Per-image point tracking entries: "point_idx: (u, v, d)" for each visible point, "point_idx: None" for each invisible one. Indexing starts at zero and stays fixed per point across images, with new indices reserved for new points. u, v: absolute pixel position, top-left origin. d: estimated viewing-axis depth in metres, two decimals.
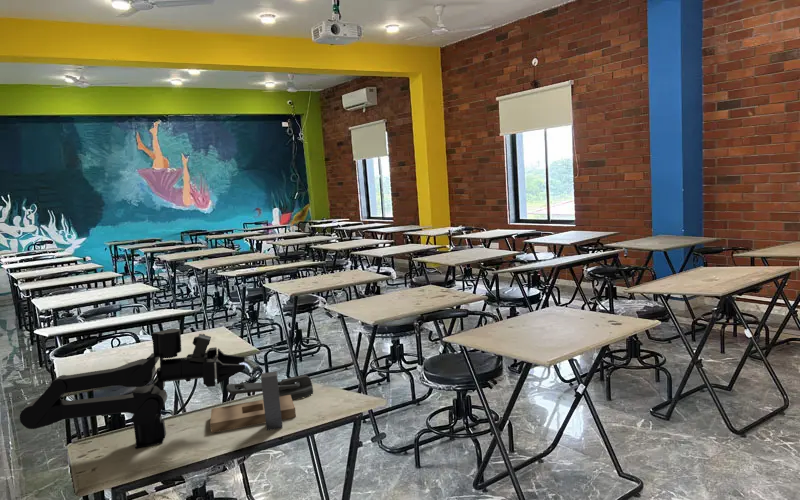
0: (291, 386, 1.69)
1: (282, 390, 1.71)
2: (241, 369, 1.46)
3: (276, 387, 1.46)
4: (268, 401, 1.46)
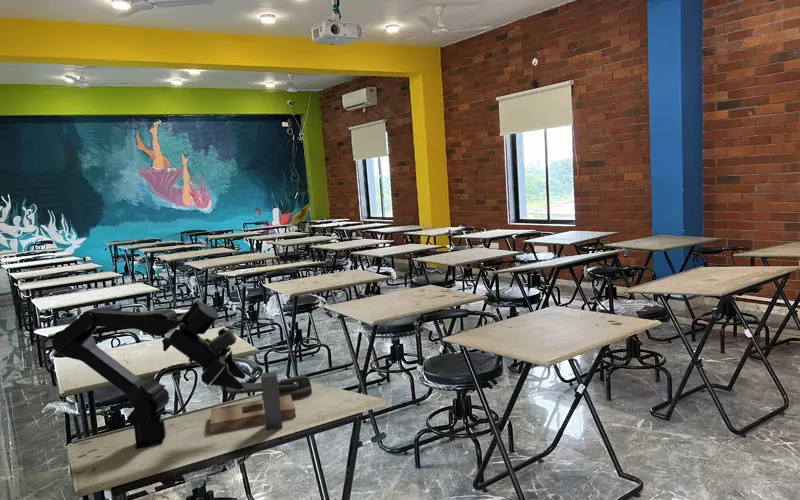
0: (290, 386, 1.69)
1: (281, 390, 1.71)
2: (238, 387, 1.41)
3: (276, 387, 1.46)
4: (268, 401, 1.46)
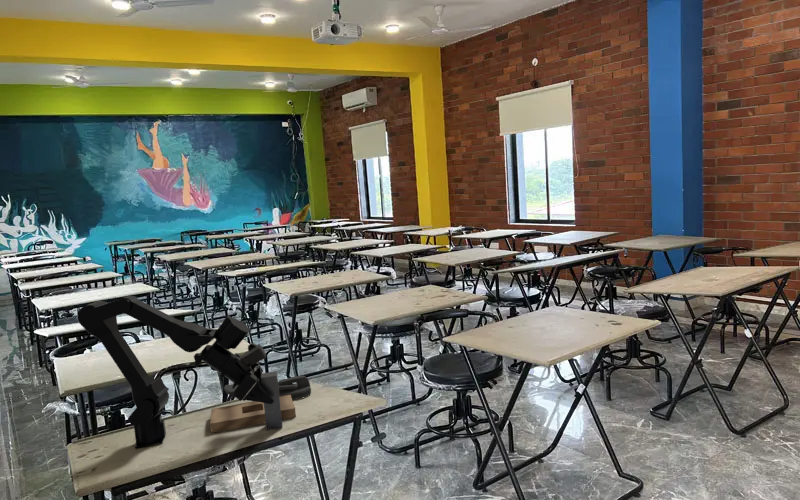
0: (289, 387, 1.69)
1: (280, 391, 1.71)
2: (268, 402, 1.43)
3: (276, 387, 1.46)
4: None
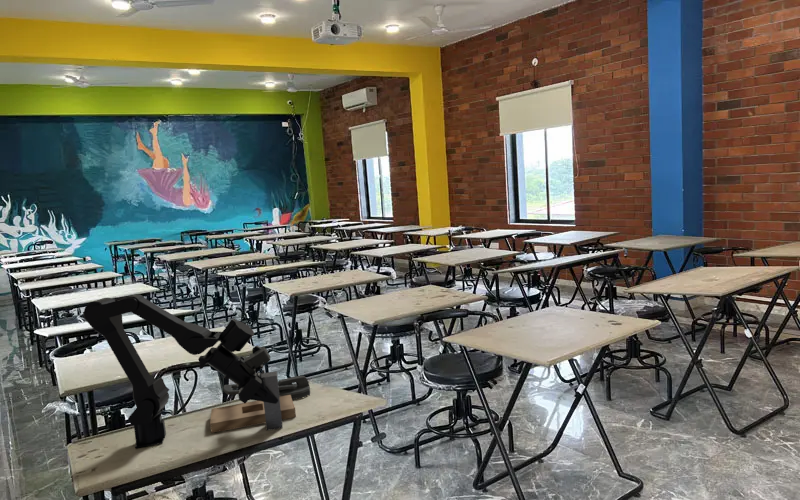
0: (288, 387, 1.69)
1: (279, 391, 1.71)
2: (273, 401, 1.45)
3: (276, 387, 1.46)
4: None
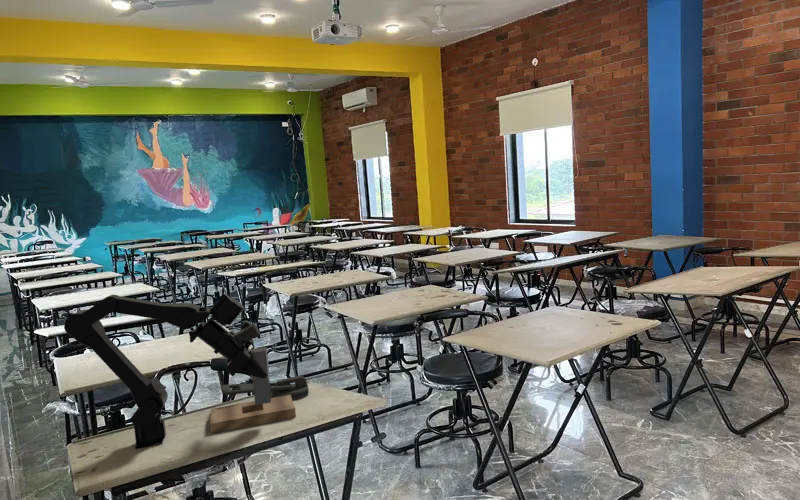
0: (286, 387, 1.69)
1: (277, 391, 1.71)
2: (261, 376, 1.48)
3: (265, 362, 1.48)
4: None
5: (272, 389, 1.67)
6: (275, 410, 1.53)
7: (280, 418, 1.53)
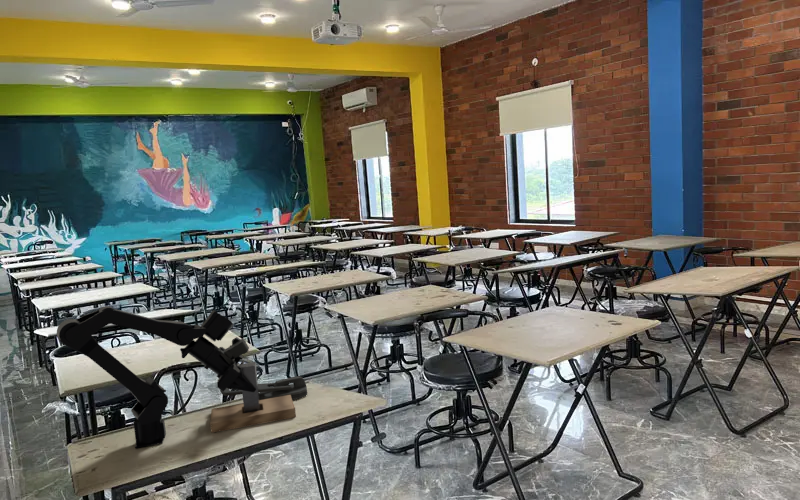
0: (285, 387, 1.68)
1: (276, 391, 1.70)
2: (251, 390, 1.53)
3: (254, 376, 1.54)
4: None
5: (271, 390, 1.67)
6: (275, 410, 1.53)
7: (280, 418, 1.53)
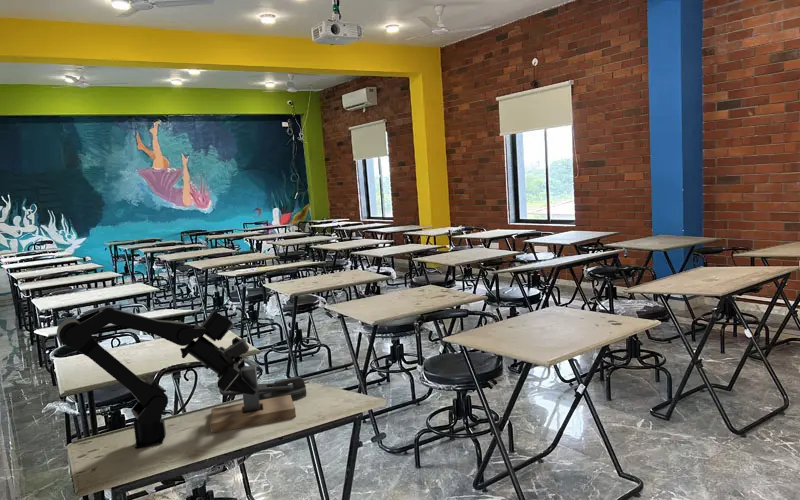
0: (284, 388, 1.68)
1: (275, 392, 1.70)
2: (250, 393, 1.51)
3: (254, 380, 1.54)
4: None
5: (270, 390, 1.66)
6: (275, 410, 1.53)
7: (280, 418, 1.53)
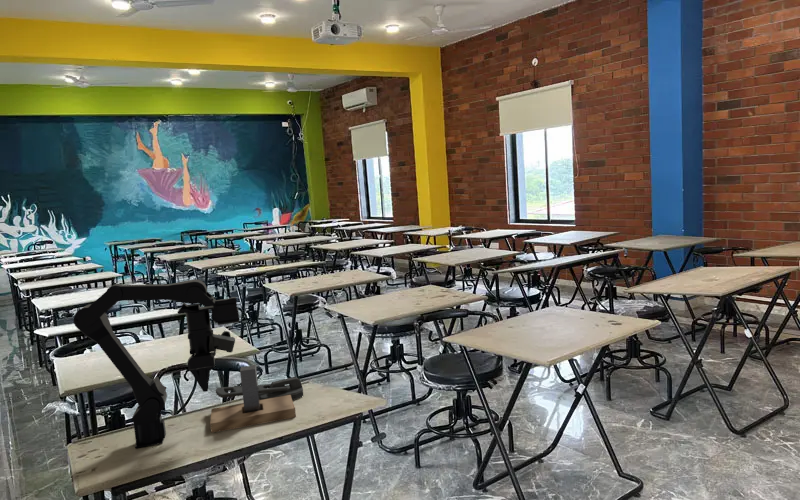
0: (281, 388, 1.68)
1: (272, 393, 1.69)
2: (203, 388, 1.44)
3: (254, 380, 1.54)
4: (247, 393, 1.54)
5: (267, 391, 1.66)
6: (275, 410, 1.53)
7: (280, 418, 1.53)
